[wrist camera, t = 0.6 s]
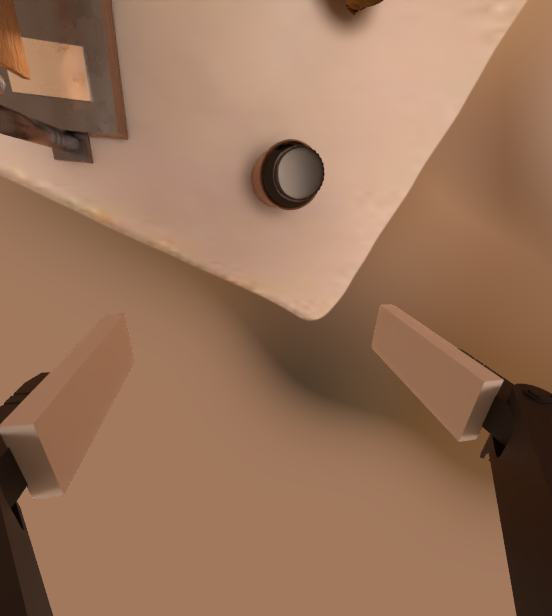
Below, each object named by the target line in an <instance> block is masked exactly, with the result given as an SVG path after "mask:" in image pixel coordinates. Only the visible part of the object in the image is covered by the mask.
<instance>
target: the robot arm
mask: <svg viewBox="0 0 552 616" xmlns="http://www.w3.org/2000/svg"><path fill="white" fill-rule="evenodd" d="M371 348H372V349H373V350H374V351H375V352H376V353H377V354H378V355H379V356H380V357H381V358H382V360H383V361H384V362H385V363H386V364H387V365H388V366H389V367H390V368H391V369H392V370H393V371H394V372H395V374H397V376H399V378H400V379H401V380H402V381H403V382H404V383H405V384H406V385H407V386H408V387H409V389H410V390H411V391H412V392H413V393H414V394H415V395H416V396H417V397H418V398H419V399H420V400H421V401H422V403H423V404H424V405H425V406H426V407H427V408H428V409H429V410H430V411H431V412H432V413H433V414H434V415H435V417H436V418H437V419H438V420H439V421H440V422H441V423H442V424H443V425H444V426H445V427H446V428H447V429H448V431H450V433H451V434H452V435H453V436H454V437H455V438H456V439H457V440H458V441H459V442H460V441H467V440H474V439H477V437H478V435H479V433H480V431H481V428H482V427H484V428H485V429H486V430H487V431H488V432H489V433H490V435H489V437H488V439H487V441H486V444H485V445H484V448H483V450H482V452H481V455H480V457H481V458H484V457H485V455H486V454H488V453H489V457H490V459H489V461H490V462H491V468H492V474H493V480H494V486H495V492H496V497H497V503H498V509H499V515H500V521H501V527H502V532H503V538H504V544H505V550H506V556H507V562H508V568H509V574H510V579H511V585H512V591H513V597H514V603H515V608H516V614H517V616H552V394H551V393H549V392H547V391H545V390H543V389H541V388H538V387H535V386H532V385H528V384H515V385H514V384H512V383H511V382H509V381H508V380H506V379H505V378H503V377H502V376H500V375H499V374H497V373H496V372H494V371H493V370H491V369H490V368H488V367H487V366H486V365H483V363H481V362H480V361H478V360H476V359H474V357H472V356H471V355H469V354H468V353H466V352H465V351H463V350H461V349H458V348H456V347H455V346H453V345H452V344H450V343H448V342H447V341H446V340H444V339H443V338H441V337H440V336H438V335H437V334H436V333H434V332H433V331H431V330H430V329H428V328H427V327H425V326H424V325H422V324H421V323H419V322H418V321H416V320H415V319H413V318H412V317H410V316H409V315H408V314H406V313H405V312H403V311H402V310H400V309H399V308H397V307H395V306H394V305H393V304H390V305H380V308H379V313H378V318H377V322H376V327H375V332H374V337H373V341H372V346H371ZM133 364H134V358H133V354H132V348H131V343H130V339H129V333H128V328H127V324H126V319H125V314H124V313H118V314H106V315H105V316H104V317H103V318H102V319H101V320H100V321H99V323H97V324H96V326H95V327H94V328H93V329H92V330H91V331H90V332H89V333H88V334H87V335H86V336H85V337H84V338H83V339H82V340H81V341H80V342H79V343H78V344H77V345H76V346H75V347H74V348H73V349H72V350H71V351H70V353H69V354H67V356H66V357H65V358H64V359H63V360H62V361H61V362H60V363H59V364H58V365H57V366H56V367H55V368H54V369H53V370H52V371H51V372H47V373H41V374H39V375H37V376H36V377H34V378H32V379H31V380H29V381H27V382H25V383H24V384H23V385H22V386H21V387H20V388H19V389H18V390H17V391H16V392H15V393H14V396H11V397H10V398H9V399H8V400H7V401H6V402H5V403H4V405H2V406H1V407H0V616H53V614H52V610H51V607H50V604H49V601H48V597H47V594H46V591H45V588H44V584H43V581H42V577H41V574H40V571H39V568H38V565H37V561H36V558H35V555H34V551H33V548H32V544H31V541H30V538H29V535H28V531H27V528H26V525H25V522H24V518H23V515H22V512H21V508H20V506H19V505H18V503H17V500H18V498H19V497H20V495H21V494H22V492H23V491H24V489H25V488H26V486H27V488H28V490H29V492H30V494H31V496H32V498H33V500H34V499H41V498H49V497H56V496H63V495H64V494H65V492H66V490H67V488H68V486H69V485H70V482H71V481H72V479H73V477H74V475H75V473H76V471H77V469H78V468H79V466H80V464H81V462H82V460H83V458H84V456H85V455H86V453H87V451H88V449H89V447H90V445H91V443H92V441H93V439H94V437H95V436H96V434H97V432H98V430H99V428H100V426H101V424H102V422H103V421H104V419H105V417H106V415H107V413H108V411H109V409H110V407H111V405H112V404H113V402H114V399H115V398H116V396H117V394H118V392H119V390H120V388H121V387H122V384H123V383H124V381H125V379H126V377H127V375H128V373H129V372H130V370H131V368H132V366H133Z"/></svg>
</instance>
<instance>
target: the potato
mask: <svg viewBox="0 0 552 616" xmlns="http://www.w3.org/2000/svg"><path fill="white" fill-rule="evenodd" d="M345 1H346V3H347V5H346V6H347V7H348V8H347V9H348V10H349V11H350V12H351V13H352V14H353V15H355V12H358V10H362V9H364V8H366V7H369V6H373V5H376V4H378V3H380V2H382V1H383V0H345Z"/></svg>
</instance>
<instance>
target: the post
mask: <svg viewBox="0 0 552 616" xmlns="http://www.w3.org/2000/svg"><path fill="white" fill-rule="evenodd" d="M0 133H1V134H4V135H8V136H12V137H15V138H19V139H22V140H26V141H30V142H33V143H37V144H41V145H44V146H48V147H51V148H52V149H53V154H54V159H56V160H64V161H76V162H88V163H93V160H92V154H91V148H90V142H89V136H88V135H86V134H81V133H71V132H67V131H64V130H62V129H59V128H57V127H54V126H52V125H49V124H47V123H44V122H42V121H39V120H37V119H34V118H32V117H30V116H27V115H25V114H22V113H20V112H17V111H15V110H12V109H10V108H7V107H5V106H2V105H0Z"/></svg>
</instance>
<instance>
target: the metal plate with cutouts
mask: <svg viewBox="0 0 552 616" xmlns="http://www.w3.org/2000/svg"><path fill="white" fill-rule="evenodd" d="M13 2H14V7H15V11H16V16H17V20H18V25H19V29H20V33H21V38H22V42H23V47H24V51H25V56H26V60H27V65H28V69H29V73H30V78H31V80H28V79H22V78H21V77H19V76H17V75H15V74H14V73H12V72H10V71H9V70H7V69H5V68H3V67H2V66H0V74H1V76H2V77H3V79H4V81H5V86H6V88H5V92H4V95H3V94H2V95H0V105H2V106H5V107H7V108H10V109H12V110H15V111H17V112H20V113H22V114H25V115H27V116H30V117H32V118H34V119H37V120H39V121H42V122H44V123H47V124H49V125H52V126H54V127H57V128H59V129H62V130H64V131H67V132H71V133H81V134H86V135H90V136H100V137H110V138H119V139H128V134H127V126H126V118H125V110H124V102H123V93H122V85H121V77H120V69H119V61H118V53H117V45H116V37H115V28H114V20H113V12H112V4H111V0H13Z"/></svg>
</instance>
